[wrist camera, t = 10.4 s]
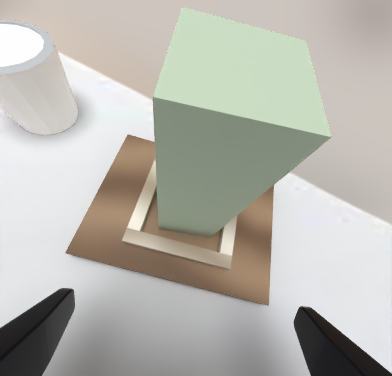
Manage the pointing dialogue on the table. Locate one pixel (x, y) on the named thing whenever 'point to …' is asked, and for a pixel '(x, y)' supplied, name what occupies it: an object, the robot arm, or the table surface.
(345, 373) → the robot arm
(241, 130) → the pillar
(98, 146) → the table surface
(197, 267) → the base board
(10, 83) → the white cylinder
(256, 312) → the table surface
